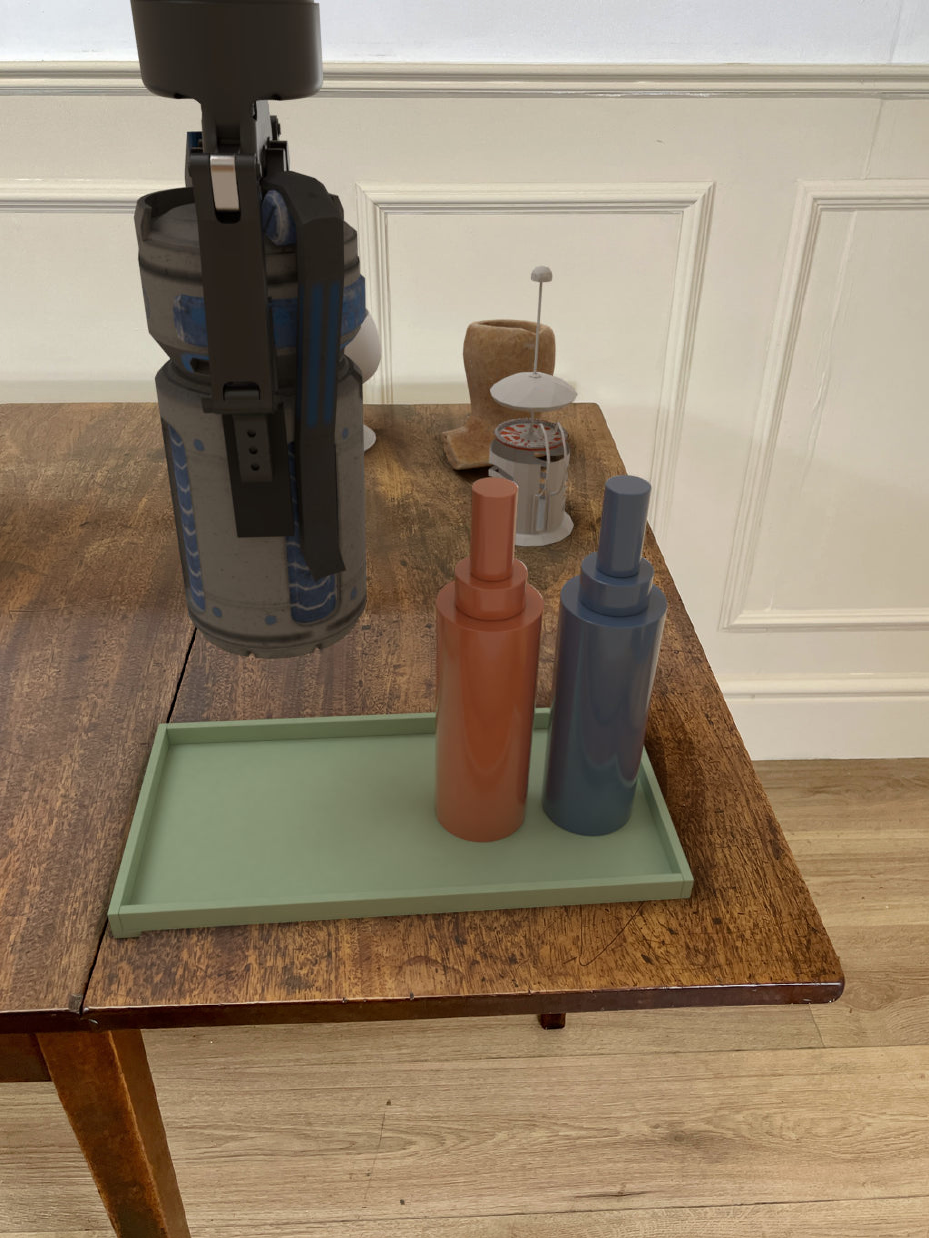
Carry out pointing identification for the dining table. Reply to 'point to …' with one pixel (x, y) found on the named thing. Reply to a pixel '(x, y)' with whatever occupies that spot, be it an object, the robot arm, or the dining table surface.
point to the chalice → (366, 360)
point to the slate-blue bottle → (604, 671)
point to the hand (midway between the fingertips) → (274, 484)
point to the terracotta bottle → (486, 676)
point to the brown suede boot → (486, 362)
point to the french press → (534, 447)
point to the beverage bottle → (314, 415)
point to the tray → (356, 832)
